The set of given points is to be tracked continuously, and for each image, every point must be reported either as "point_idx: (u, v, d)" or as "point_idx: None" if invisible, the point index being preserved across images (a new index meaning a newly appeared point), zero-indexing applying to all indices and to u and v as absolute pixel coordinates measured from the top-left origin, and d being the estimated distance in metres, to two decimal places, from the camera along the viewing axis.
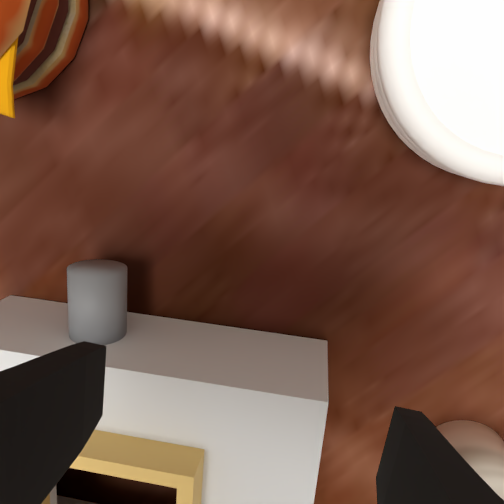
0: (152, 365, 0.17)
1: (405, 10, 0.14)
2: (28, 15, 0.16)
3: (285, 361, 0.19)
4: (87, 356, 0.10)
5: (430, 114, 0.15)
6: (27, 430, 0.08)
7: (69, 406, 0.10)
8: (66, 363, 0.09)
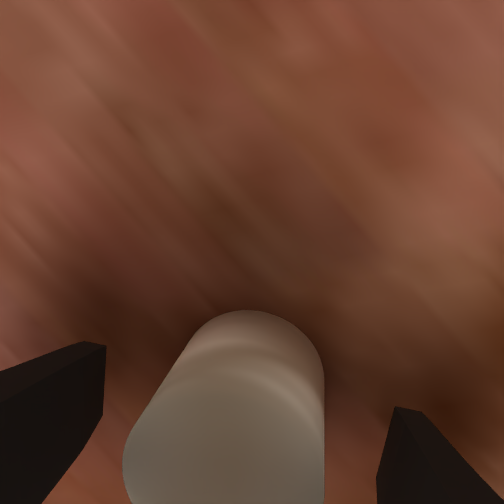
0: None
1: None
2: None
3: None
4: (87, 356, 0.10)
5: None
6: (27, 430, 0.08)
7: (69, 406, 0.10)
8: (66, 363, 0.09)
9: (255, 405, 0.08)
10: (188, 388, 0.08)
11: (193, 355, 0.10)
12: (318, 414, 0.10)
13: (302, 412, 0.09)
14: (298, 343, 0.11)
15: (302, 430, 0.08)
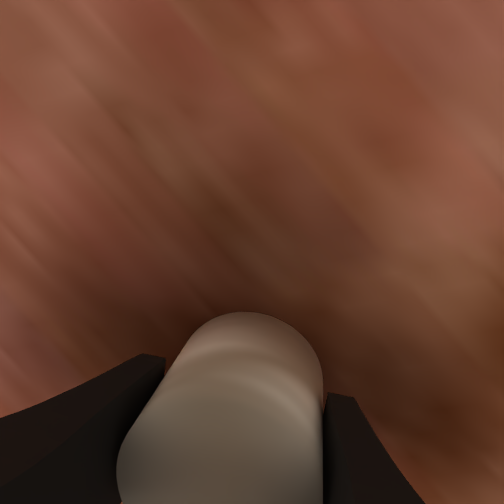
0: None
1: None
2: None
3: None
4: (152, 370, 0.10)
5: None
6: (103, 448, 0.08)
7: None
8: (135, 378, 0.09)
9: (252, 411, 0.08)
10: (183, 393, 0.08)
11: (189, 359, 0.10)
12: (316, 419, 0.09)
13: (300, 419, 0.09)
14: (296, 346, 0.11)
15: (299, 437, 0.08)
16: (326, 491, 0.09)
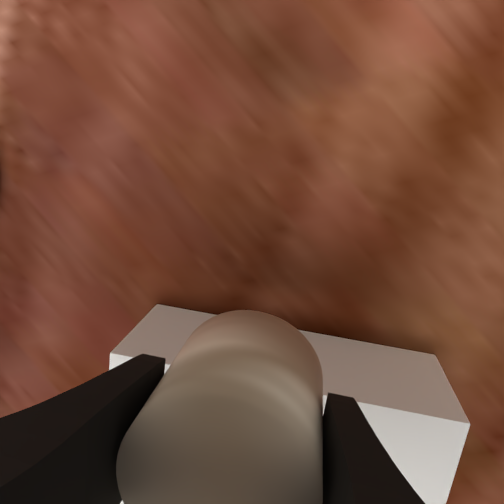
0: None
1: None
2: None
3: None
4: (152, 370, 0.10)
5: None
6: (103, 448, 0.08)
7: None
8: (135, 378, 0.09)
9: (252, 408, 0.08)
10: (183, 392, 0.08)
11: (189, 357, 0.10)
12: (316, 417, 0.09)
13: (300, 415, 0.09)
14: (296, 344, 0.11)
15: (299, 435, 0.08)
16: (326, 491, 0.09)
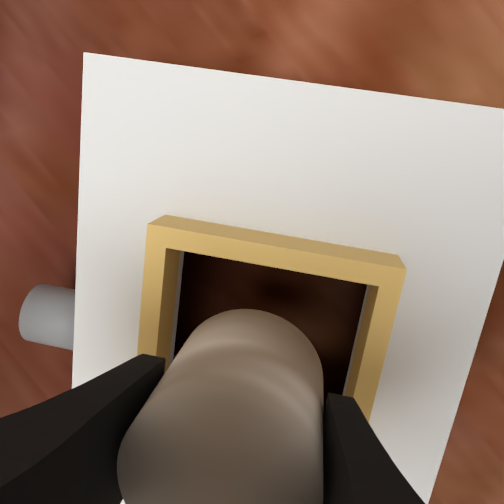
0: None
1: None
2: None
3: None
4: (152, 370, 0.10)
5: None
6: (103, 448, 0.08)
7: None
8: (135, 378, 0.09)
9: (252, 406, 0.08)
10: (182, 389, 0.08)
11: (189, 356, 0.10)
12: (316, 415, 0.09)
13: (300, 414, 0.09)
14: (296, 342, 0.11)
15: (299, 432, 0.08)
16: (326, 491, 0.09)
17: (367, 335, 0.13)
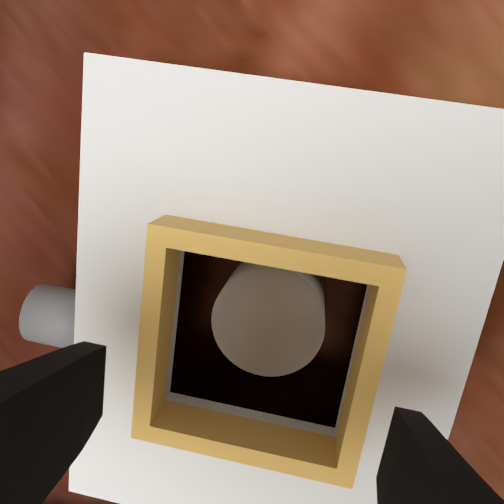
0: None
1: None
2: None
3: None
4: (87, 356, 0.10)
5: None
6: (27, 430, 0.08)
7: (69, 406, 0.10)
8: (66, 363, 0.09)
9: (287, 277, 0.15)
10: (249, 270, 0.15)
11: None
12: (321, 293, 0.17)
13: (312, 285, 0.16)
14: None
15: (312, 291, 0.15)
16: None
17: (367, 335, 0.13)
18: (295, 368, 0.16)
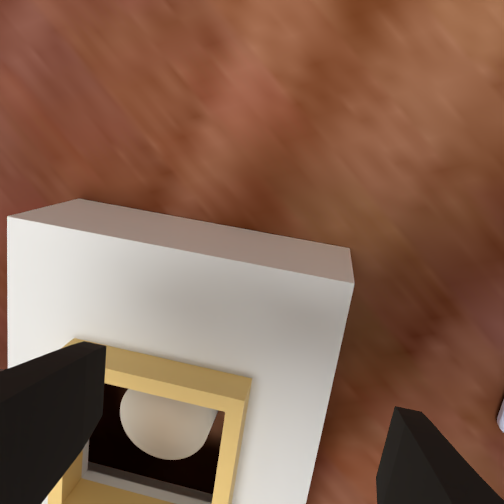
0: None
1: None
2: None
3: None
4: (87, 356, 0.10)
5: None
6: (27, 430, 0.08)
7: (69, 406, 0.10)
8: (66, 363, 0.09)
9: None
10: None
11: None
12: None
13: None
14: None
15: None
16: None
17: (220, 446, 0.16)
18: (188, 454, 0.20)
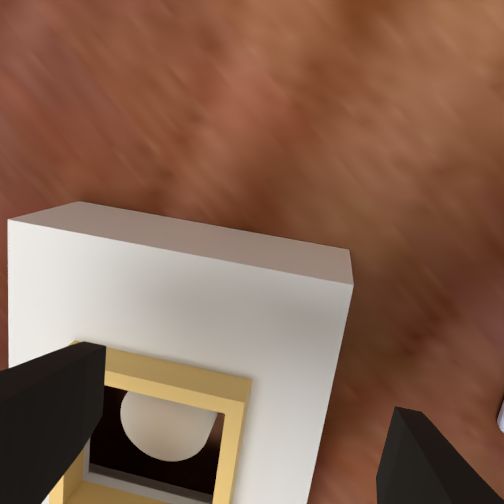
0: None
1: None
2: None
3: None
4: (87, 356, 0.10)
5: None
6: (27, 430, 0.08)
7: (69, 406, 0.10)
8: (66, 363, 0.09)
9: None
10: None
11: None
12: None
13: None
14: None
15: None
16: None
17: (220, 448, 0.16)
18: (188, 455, 0.20)
